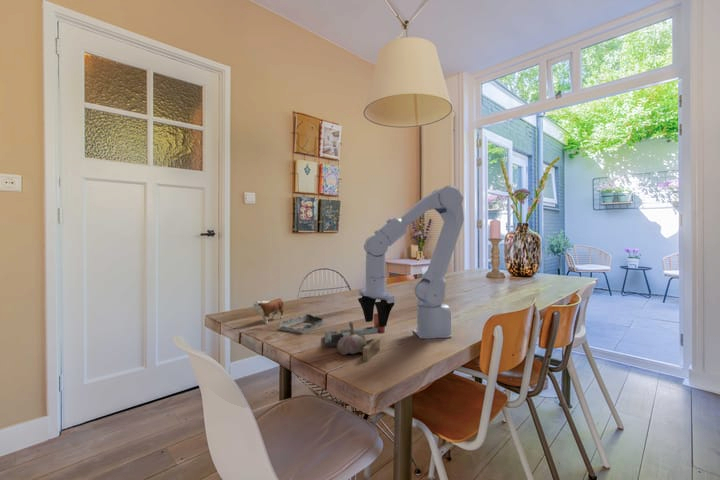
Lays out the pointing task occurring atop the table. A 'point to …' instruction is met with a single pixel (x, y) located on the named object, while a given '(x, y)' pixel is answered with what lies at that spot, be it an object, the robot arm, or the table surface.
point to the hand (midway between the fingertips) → (375, 323)
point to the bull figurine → (268, 308)
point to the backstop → (371, 349)
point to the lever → (357, 331)
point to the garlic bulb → (351, 342)
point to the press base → (333, 344)
